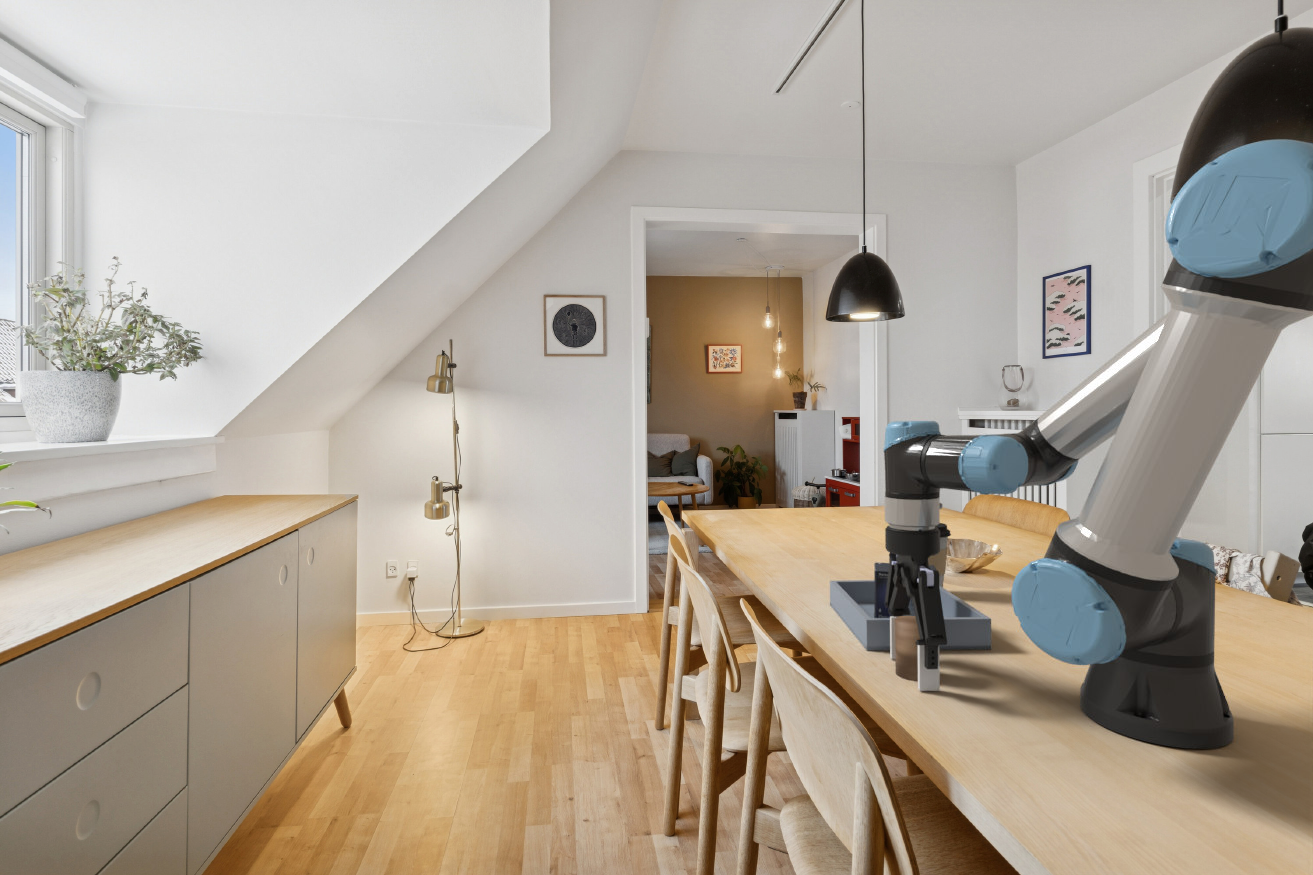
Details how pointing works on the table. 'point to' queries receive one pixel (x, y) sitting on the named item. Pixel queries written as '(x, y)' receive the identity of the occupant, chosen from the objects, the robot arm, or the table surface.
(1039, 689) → the table surface
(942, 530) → the coffee cup
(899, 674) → the walnut cylinder
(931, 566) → the small box
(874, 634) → the tray
